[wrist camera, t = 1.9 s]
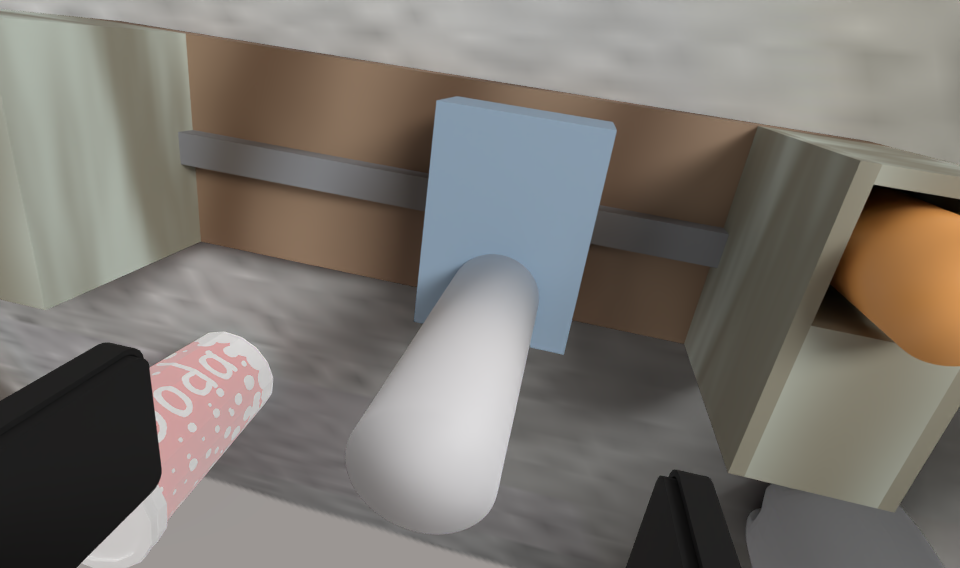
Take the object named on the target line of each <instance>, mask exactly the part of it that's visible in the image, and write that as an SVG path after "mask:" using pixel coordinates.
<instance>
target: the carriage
mask: <svg viewBox="0 0 960 568" xmlns="http://www.w3.org/2000/svg"><path fill="white" fill-rule="evenodd" d="M616 132H617V130H616V127H615V125H614V123H613V122H610V121H604V120H598V119H592V118H586V117H580V116H574V115H568V114H562V113H556V112H550V111H544V110H537V109H531V108H525V107H519V106H513V105H507V104H501V103H495V102H489V101H483V100H477V99H471V98H465V97H459V96H456V97H451V98H446V99H441V100H437V101H436V111H435V120H434V130H433V140H432V150H431V159H430V169H429V179H428V188H427V198H426V208H425V218H424V227H423V237H422V247H421V257H420V266H419V276H418V286H417V295H416V305H415V315H414V322H418V323H422V324H423V325H422V326H421V328H420V329H419V331H418V332H417V334H416V335H415V337H414V338H413V340H412V341H411V343H410V344H409V346H408V348H407V349H406V351H405V352H404V354H403V355H402V357H401V358H400V360H399V361H398V363H397V364H396V366H395V367H394V369H393V370H392V372H391V373H390V375H389V376H388V378H387V380H386V381H385V383H384V384H383V386H382V387H381V389H380V390H379V392H378V393H377V395H376V396H375V398H374V399H373V401H372V402H371V404H370V405H369V407H368V409H367V410H366V412H365V413H364V415H363V416H362V418H361V419H360V421H359V422H358V424H357V425H356V427H355V428H354V430H353V431H352V433H351V435H350V437H349V439H348V442H347V445H346V451H345V464H346V469H347V473H348V476H349V479H350V481H351V483H352V485H353V487H354V489H355V490H356V492H357V493H358V495H359V496H360V497H361V499H362V500H363V501H364V502H365V503H366V504H367V505H368V506H369V507H370V508H371V509H372V510H373V511H375V512H376V513H377V514H378V515H380V516H381V517H383V518H384V519H386V520H388V521H389V522H391V523H393V524H395V525H397V526H400V527H402V528H405V529H408V530H411V531H415V532H419V533H425V534H450V533H455V532H459V531H462V530H465V529H468V528H470V527H472V526H473V525H475V524H477V523H478V522H479V521H481V520H482V519H483V518H484V517H485V516H486V515H487V514H488V512H489V511H490V510H491V508H492V506H493V504H494V502H495V500H496V496H497V493H498V488H499V484H500V479H501V474H502V470H503V465H504V461H505V456H506V452H507V447H508V442H509V438H510V433H511V429H512V424H513V420H514V415H515V410H516V406H517V401H518V397H519V392H520V388H521V383H522V378H523V374H524V369H525V365H526V360H527V356H528V351H529V347H531V348H536V349H540V350H545V351H549V352H554V353H558V354H563V355H564V351H565V347H566V343H567V339H568V335H569V330H570V326H571V322H572V318H573V313H574V309H575V305H576V301H577V297H578V292H579V288H580V284H581V280H582V276H583V271H584V267H585V263H586V259H587V254H588V250H589V246H590V242H591V238H592V233H593V229H594V225H595V221H596V217H597V212H598V208H599V204H600V200H601V195H602V191H603V187H604V183H605V179H606V174H607V170H608V166H609V162H610V158H611V153H612V149H613V145H614V141H615V136H616Z"/></svg>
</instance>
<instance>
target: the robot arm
mask: <svg viewBox="0 0 960 568" xmlns="http://www.w3.org/2000/svg"><path fill="white" fill-rule="evenodd" d="M161 474H162V467H161V459H160V450H159V442H158V434H157V426H156V417H155V409H154V401H153V393H152V384H151V376H150V368H149V364H148V362H147V361H146V360H145V359H144V358H143V354H142V353H141V352H140V350H137V349H135V348H131V347H126V346H122V345H117V344H113V343H102V344H99V345H97V346H95V347H93V348H92V349H90V350H88V351H86V352H85V353H83V354H81V355H79V356H78V357H76V358H74V359H72V360H71V361H69V362H67V363H66V364H64V365H62V366H60V367H59V368H57V369H55V370H53V371H52V372H50V373H48V374H46V375H45V376H43V377H41V378H39V379H38V380H36V381H34V382H33V383H31V384H29V385H27V386H26V387H24V388H22V389H20V390H19V391H17V392H15V393H13V394H12V395H10V396H8V397H6V398H5V399H3V400H1V401H0V568H77V567H78V566H79V565H80V564H81V563H82V562H83V561H84V560H85V559H86V558H87V557H88V556H89V555H90V554H91V553H92V552H93V551H94V550H95V549H96V548H97V547H98V546H99V545H100V544H101V543H102V542H103V541H104V540H105V539H106V538H107V537H108V536H109V535H110V534H111V533H112V532H113V531H114V530H115V529H116V528H117V527H118V526H119V525H120V524H121V523H122V522H123V521H124V520H125V519H126V518H127V517H128V516H129V515H130V514H131V513H132V512H133V511H134V510H135V509H136V508H137V507H138V506H139V505H140V504H141V503H142V502H143V501H144V500H145V499H146V498H147V497H148V496H149V495H150V494H151V493H152V492H153V491H154V489H155V488H156V487H157V485H158V483H159V481H160V478H161ZM626 568H741V566H740V563H739V560H738V557H737V554H736V551H735V548H734V545H733V542H732V539H731V536H730V533H729V530H728V527H727V524H726V521H725V518H724V515H723V512H722V509H721V506H720V503H719V500H718V497H717V494H716V491H715V488H714V486H713V483H712V481H711V479H710V478H709V477H706V476H701V475H697V474H693V473H688V472H684V471H679V470H673V471H672V472H671V473H670V475H669V477H665V476H659V477H658V479H657V481H656V484H655V487H654V490H653V492H652V495H651V498H650V501H649V504H648V506H647V509H646V512H645V515H644V518H643V521H642V523H641V526H640V529H639V532H638V535H637V537H636V540H635V543H634V546H633V549H632V552H631V554H630V557H629V560H628V563H627V566H626Z"/></svg>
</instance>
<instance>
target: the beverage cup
mask: <svg viewBox="0 0 960 568" xmlns="http://www.w3.org/2000/svg"><path fill="white" fill-rule="evenodd" d="M150 376H151V384H152V393H153V401H154V409H155V417H156V426H157V434H158V442H159V450H160V459H161V467H162V474H161V478H160V481H159V483H158V485H157V487H156V488H155V489H154V491H153V492H152V493H151V494H150V495H149V496H148V497H147V498H146V499H145V500H144V501H143V502H142V503H141V504H140V505H139V506H138V507H137V508H136V509H135V510H134V511H133V512H132V513H131V514H130V515H129V516H128V517H127V518H126V519H125V520H124V521H123V522H122V523H121V524H120V525H119V526H118V527H117V528H116V529H115V530H114V531H113V532H112V533H111V534H110V535H109V536H108V537H107V538H106V539H105V540H104V541H103V542H102V543H101V544H100V545H99V546H98V547H97V548H96V549H95V550H94V551H93V552H92V553H91V554H90V555H89V556H88V557H87V558H86V559H85V560H84V561H83V562H82V563H81V564H84V565H87V566H90V567H92V568H127V567H130V566H133V565H135V564H138V563H140V562H142V561H143V559H144V558H145V557H146V556H147V555H148V553H149V551H150V550H151V548H152V547H153V546H154V545H156V544H157V542H158V541H159V539H160V538H161V536H162V535H163V533H164V531H165V530H166V528H167V521H168V519H169V518H170V517H171V516H172V515H173V513H174V512H175V511H176V510H177V509H178V507H179V506H180V505H181V504H182V503H183V501H184V500H185V499H186V498H187V496H188V495H189V494H190V493H191V492H192V491H193V489H194V488H195V487H196V486H197V485H198V483H199V482H200V481H201V480H202V479H203V477H204V476H205V475H206V474H207V473H208V471H209V470H210V469H211V468H212V467H213V465H214V464H215V463H216V462H217V461H218V459H219V458H220V457H221V456H222V455H223V453H224V452H225V451H226V450H227V449H228V447H229V446H230V445H231V444H232V443H233V441H234V440H235V439H236V438H237V437H238V435H239V434H240V433H241V432H242V431H243V429H244V428H245V427H246V426H247V425H248V423H249V422H250V421H251V420H252V419H253V417H254V416H255V415H256V414H257V413H258V411H259V410H260V409H261V408H262V407H263V405H264V404H265V403H266V401H267V400H268V398H269V397H270V395H271V394H272V388H273V376H272V373H271V370H270V367H269V364H268V362H267V361H266V359H265V358H264V357H263V355H262V354H261V353H260V351H259V350H258V349H257V348H256V347H255V346H253V345H252V344H251V343H249V342H248V341H246V340H245V339H244V338H242V337H240V336H237V335H233V334H230V333H227V332H213V333H208V334H206V335H204V336H203V337H201V338H199V339H197V340H196V341H194V342H192V343H191V344H189V345H187V346H185V347H184V348H182V349H180V350H179V351H177V352H175V353H174V354H172V355H170V356H168V357H167V358H165V359H163V360H162V361H160V362H158V363H156V364H155V365H153V366H151V367H150Z"/></svg>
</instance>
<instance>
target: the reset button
mask: <svg viewBox="0 0 960 568" xmlns="http://www.w3.org/2000/svg"><path fill="white" fill-rule="evenodd" d="M830 285H831V286H833V287H834V288H835V289H836V290H837V291H838V292H839V293H840V294H842V295H843V296H844V297H845V298H846V299H847V300H848V301H849V302H850V303H852V304H853V305H854V306H855V307H856V308H857V309H858V310H859V311H860V312H862V313H863V314H864V315H865V316H866V317H867V318H868V319H869V320H870V321H872V322H873V323H874V324H875V325H876V326H877V327H878V328H879V329H881V330H882V331H883V332H884V333H885V334H886V335H887V336H888V337H889V338H891V339H892V340H893V341H894V342H895V343H896V344H897V345H898V346H899V347H901V348H902V349H903V350H904V351H905V352H907V353H908V354H909V355H911V356H913V357H915V358H917V359H919V360H922V361H924V362H927V363H931V364H935V365H941V366H960V215H958V214H956V213H953V212H950V211H948V210H945V209H943V208H940V207H938V206H935V205H933V204H930V203H928V202H925V201H923V200H920V199H918V198H915V197H913V196H910V195H908V194H905V193H902V192H900V191H897V190H894V189H890V188H883V187H872V189H871V192H870V194H869V196H868V198H867V201H866V203H865V205H864V207H863V210H862V212H861V214H860V216H859V219H858V221H857V223H856V225H855V228H854V230H853V232H852V234H851V237H850V239H849V241H848V243H847V246H846V248H845V250H844V253H843V255H842V257H841V259H840V262H839V264H838V266H837V268H836V271H835V273H834V275H833V277H832V280H831V282H830Z"/></svg>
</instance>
